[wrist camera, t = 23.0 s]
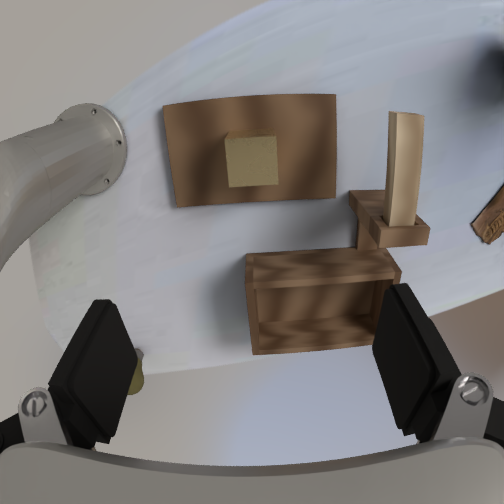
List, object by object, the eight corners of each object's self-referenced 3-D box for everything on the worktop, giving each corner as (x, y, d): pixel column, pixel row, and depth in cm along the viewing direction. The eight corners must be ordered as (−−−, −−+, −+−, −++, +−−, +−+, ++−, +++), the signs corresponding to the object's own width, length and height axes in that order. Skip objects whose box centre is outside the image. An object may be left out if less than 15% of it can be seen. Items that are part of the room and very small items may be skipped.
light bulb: (120, 339, 53) (104, 380, 45) (148, 341, 53) (134, 384, 44) (129, 358, 56) (115, 399, 47) (155, 361, 56) (143, 402, 47)
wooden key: (380, 238, 33) (386, 247, 31) (388, 111, 26) (397, 113, 24) (403, 237, 33) (410, 246, 31) (414, 113, 26) (424, 115, 24)
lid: (179, 202, 41) (165, 227, 34) (166, 105, 34) (146, 110, 28) (332, 193, 40) (348, 217, 33) (332, 94, 33) (350, 96, 27)
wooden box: (252, 323, 50) (252, 380, 40) (240, 195, 40) (235, 238, 30) (372, 313, 50) (393, 366, 39) (390, 189, 39) (431, 227, 29)
